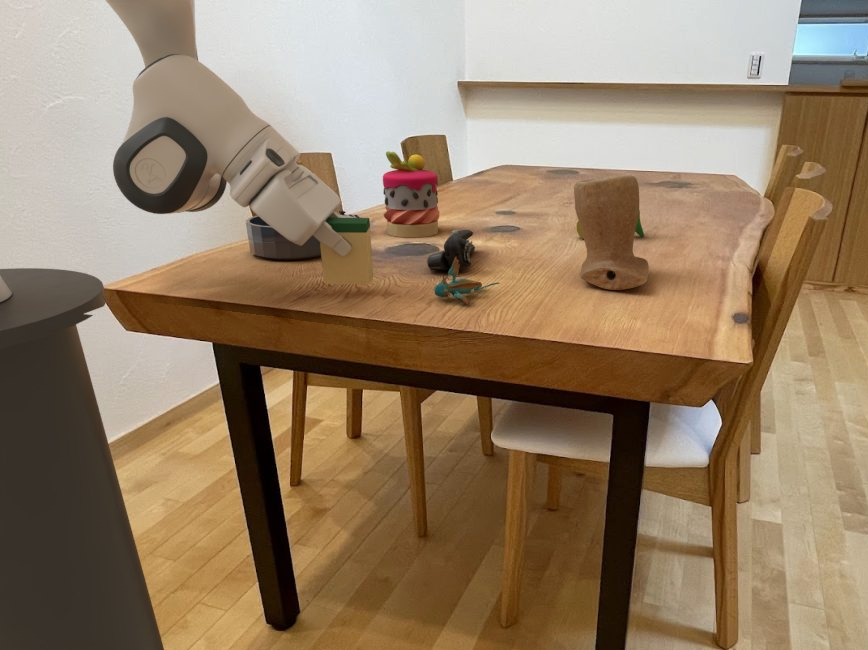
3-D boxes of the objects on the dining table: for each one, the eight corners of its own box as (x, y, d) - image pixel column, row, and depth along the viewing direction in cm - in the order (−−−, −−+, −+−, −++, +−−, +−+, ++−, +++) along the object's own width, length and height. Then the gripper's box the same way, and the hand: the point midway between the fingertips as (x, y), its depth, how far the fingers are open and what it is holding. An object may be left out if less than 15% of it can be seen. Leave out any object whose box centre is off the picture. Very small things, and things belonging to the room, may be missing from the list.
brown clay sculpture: (575, 264, 107) (581, 167, 101) (650, 269, 104) (660, 170, 98) (560, 289, 93) (564, 179, 87) (645, 296, 91) (656, 183, 85)
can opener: (467, 277, 99) (467, 240, 96) (422, 275, 100) (421, 237, 97) (490, 251, 115) (490, 218, 112) (451, 249, 115) (450, 216, 113)
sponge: (323, 283, 87) (318, 222, 84) (328, 276, 91) (323, 217, 88) (369, 284, 88) (366, 223, 85) (373, 276, 92) (369, 217, 88)
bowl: (252, 264, 104) (247, 229, 101) (249, 245, 116) (244, 214, 113) (344, 257, 109) (341, 224, 106) (331, 240, 121) (328, 209, 118)
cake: (418, 224, 135) (415, 147, 129) (450, 232, 128) (449, 151, 122) (374, 231, 129) (369, 150, 123) (406, 240, 122) (401, 154, 116)
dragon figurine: (447, 277, 94) (424, 267, 87) (494, 260, 92) (474, 249, 85) (459, 320, 94) (436, 315, 86) (506, 305, 92) (487, 298, 84)
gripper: (270, 177, 93) (346, 247, 98) (226, 199, 74) (322, 284, 79) (299, 144, 92) (375, 216, 96) (261, 159, 73) (357, 247, 78)
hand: (351, 247), depth 88 cm, fingers closed on sponge, 4 cm apart
